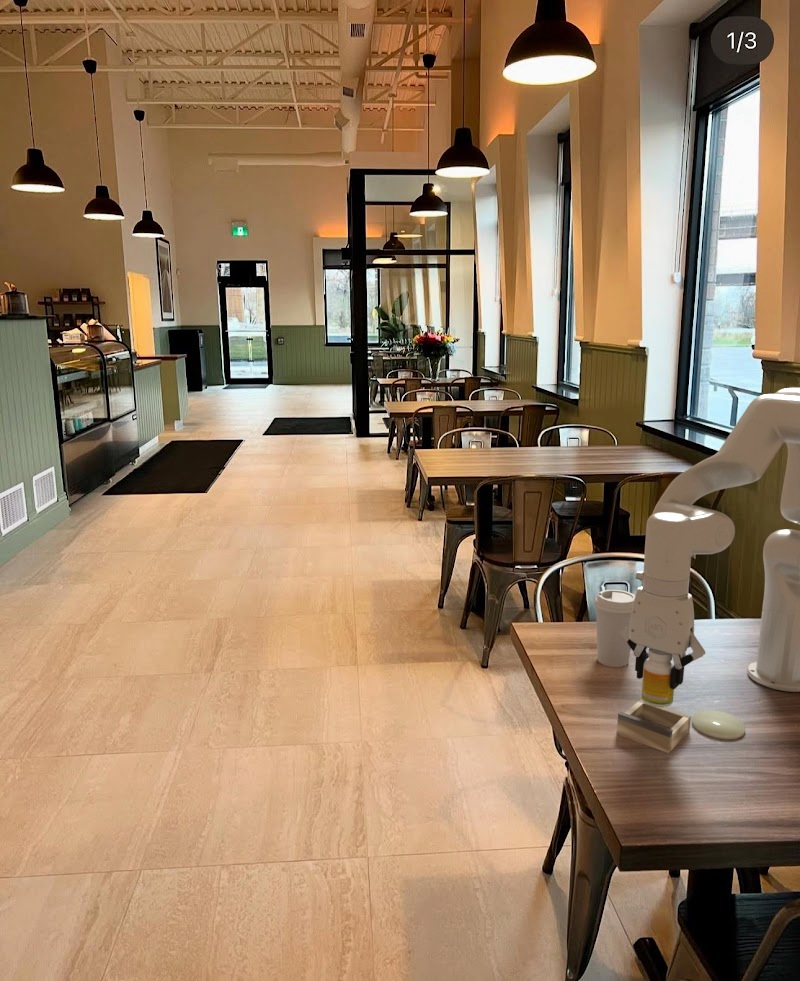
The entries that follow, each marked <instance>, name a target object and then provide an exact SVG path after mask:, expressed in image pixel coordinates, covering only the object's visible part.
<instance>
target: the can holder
mask: <svg viewBox="0 0 800 981" xmlns="http://www.w3.org/2000/svg"><path fill="white" fill-rule="evenodd" d="M691 722H692V716H691V715H687V714H685V713H681V712H680V711H676V710H673V709H670V708H668V707H653V706H650V705H648V704H646V703H645V702H644V701H643V700H642V699H639V700H638V701H637V702H635V704H633V705H632V706H631V707H630V708H629V709H627V710H626V712H624V711H623V712H622V711H620V712H619V713H617V727H616V735H619V736H620V737H624V738H626V739H629V740H631V741H634V742H637V743H640V744H643V745H645V746H648V747H650V748H653V749H656V750H659V751H662V752H663V753H667V754H670V753H671V751H673V749H674V748H675V747H676V746H677V745H678V744H679V743H680V742H681V741H682V740H683V739H684V738H685V737H686V736H687V735H688V734H689V733H690V729H691Z"/></svg>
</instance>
